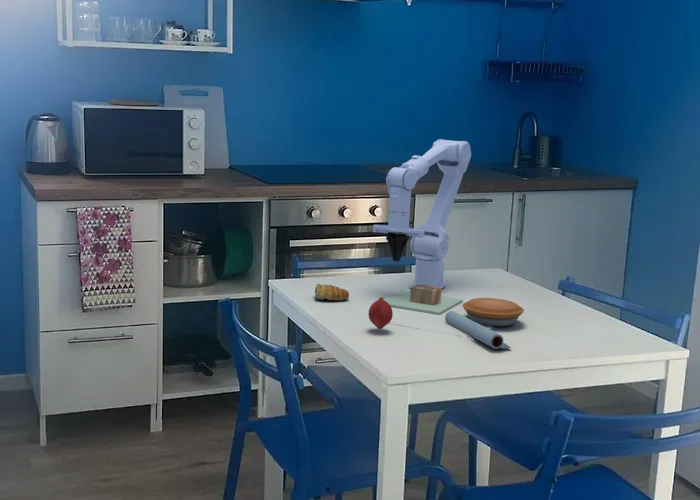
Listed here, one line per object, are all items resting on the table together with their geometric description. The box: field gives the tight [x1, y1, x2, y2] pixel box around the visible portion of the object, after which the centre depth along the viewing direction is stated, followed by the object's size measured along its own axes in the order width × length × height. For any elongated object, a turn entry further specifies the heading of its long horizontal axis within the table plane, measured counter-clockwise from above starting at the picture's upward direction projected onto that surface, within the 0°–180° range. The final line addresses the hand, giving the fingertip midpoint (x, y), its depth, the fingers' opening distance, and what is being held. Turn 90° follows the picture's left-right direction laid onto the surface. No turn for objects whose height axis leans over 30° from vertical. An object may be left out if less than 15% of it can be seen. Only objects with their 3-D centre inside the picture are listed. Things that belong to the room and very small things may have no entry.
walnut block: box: [409, 284, 443, 305], centre depth 239 cm, size 5×4×7 cm
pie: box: [461, 297, 525, 327], centre depth 225 cm, size 15×16×5 cm
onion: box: [367, 296, 394, 330], centre depth 212 cm, size 6×6×8 cm
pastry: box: [314, 283, 350, 302], centre depth 239 cm, size 9×7×4 cm
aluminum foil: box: [444, 310, 512, 350], centre depth 212 cm, size 23×7×3 cm, turn 21°
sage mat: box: [384, 290, 464, 315], centre depth 241 cm, size 18×18×1 cm
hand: (396, 260), depth 244 cm, fingers closed
